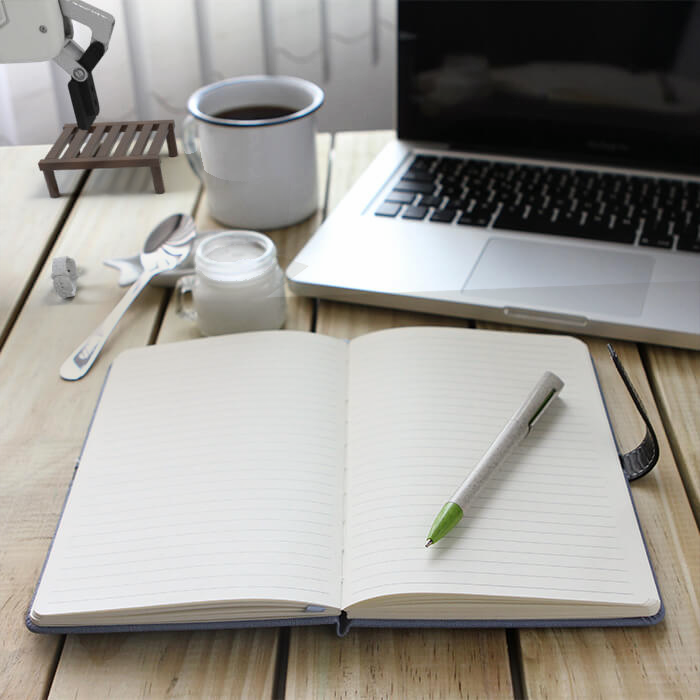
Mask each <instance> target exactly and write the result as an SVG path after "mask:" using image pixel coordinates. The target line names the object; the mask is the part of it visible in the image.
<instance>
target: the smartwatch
mask: <svg viewBox="0 0 700 700" xmlns="http://www.w3.org/2000/svg"><path fill="white" fill-rule="evenodd" d="M79 276H80V274H79V271H78V266H77V264H76V260H75V258H73V257H70V256H68V255H67V256H66V255H65V256H55V257H53V259H52V264H51V274H50V278H51V280H52V286H53V290H54V291H55V293H56V294H57V295H58V296H59V297H60V298H62V299H64V298H72V297H75V296H76V294H77V281H78V279H79Z"/></svg>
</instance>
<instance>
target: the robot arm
mask: <svg viewBox="0 0 700 700" xmlns="http://www.w3.org/2000/svg"><path fill="white" fill-rule="evenodd" d="M73 21H75V22H77V23H78V24H79V23H80V24H81V25H84V26H86V27H88V28H89V29H90V31H91V36H90V37H91V38H90V42H89V45H88V46H87V48H86V49H84V48H83V47H82V46H81V45H80V44H79V43H78V42H76V40H74V34H75V32H74V31H75V30H74V24H73ZM115 24H116V18H115V16H114V15H113V14H111V13H109V12H107V11H105V10H103V9H101V8H98V7H96V6H95V5H92V4H91V3H88V2H86V1H83V0H0V65H7V64H9V65H10V64H31V63H43V62H48V61H51V60H52V61H54V62H55V63H56V64H57V65H58V66H59V67H60V68H61V69H63V70H64V71H65V72H66V73H67V74H68V75H69V76H70V80H69V81H68V83H67V90H68V93H69V97H70V102H71V105H72V110H73V113H74V117H75V122H76V123H77V125H78V128H79V129H81V130H82V131H83V130H89V128H90V127H91V125H92V124H93V123H95V121H96V119H97V117H98V116H99V115H100V112H101V110H100V103H99V102H100V101H99V98H98V93H97V89H96V85H95V81H94V76H93V70H94V69H95V68H96V66H97V65H98V64H99V63H100V61H101V59H102V58H103V57H104V55H106V53H107V52H108V51H109V45H110V42H111V39H112V35H113V32H114V28H115Z"/></svg>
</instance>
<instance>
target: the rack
mask: <svg viewBox="0 0 700 700" xmlns="http://www.w3.org/2000/svg"><path fill="white" fill-rule="evenodd" d="M175 128H176V123H175V119H154V120H130V121H129V120H128V121H108V122H107V121H103V122H93V124H92V125H91V127H90V128H89V130H83V131H82V130H81V129H79V128H78V125H77V122H76V123H64V125H63V126H62V132H61V133H60V135H59V136H58V138H57V139H56V141H55V142H54V143H53V145H52V147H51V148H50V149H49V151H48V153H47V154H46V155H45V157H44V158H41V159H39V161H38V162H37V165H38V169H39V171H40V172H42V174H43V177H44V180H45V184H46V188H47V191H48V194H49V197H50V198H51V199H56V198H59V197H60V196H61V192H60V188H59V185H58V181H57V178H56V177H57V176H56V174H55V171H76V170H77V171H79V170H99V169H101V170H102V169H128V168H149V170H150V175H151V180H152V185H153V188H154V189H153V190H154V193H155V194H158V195H160V194H164V193H165V192H166V187H165V183H164V182H165V181H164V178H163V173H162V167H161V164H162V158H161V155H160V154H161V152H162V148H163V146H164V143H165V141H166V146H167V147H166V148H167V152H168V156H169V157H174V158H175V157H178V155H179V151H178V150H179V149H178V145H177V140H176V139H177V138H176V133H175ZM138 132H139V135H138V136H137V139H136V141H135V143H134V145H133V147H132V149H131V151H130V154H129V155H127V154H128V152H129V149H130V147H131V145H132V143H133V141H134V140H135V137H136V135H137V133H138ZM153 132H155V135H154V137H153V139H152V141H151V144H150V146H149V148H148V151H147V152H146V154H144V152H145V150H146V148H147V147H148V146H147V145H148V144H149V141H150V139H151V137H152V134H153ZM122 133H123V134H122ZM90 134H91V136H90ZM106 134H107V135H106ZM121 134H122V137H121V138H120V136H121ZM105 135H106V137H105V138H104V136H105ZM89 136H90V137H89ZM88 137H89V139H88ZM103 138H104V140H103ZM119 138H120V141H119V143H118V144H117V146H116V148H115V150H114V152H113V153H112V151H113V149H114V147H115V145H116V143H117V142H118V139H119ZM87 139H88V140H87ZM86 140H87V141H86ZM102 140H103V142H102ZM85 142H86V144H85ZM101 142H102V144H101ZM84 144H85V145H84ZM100 144H101V146H100V147H99V145H100ZM67 146H68V147H67ZM83 146H84V147H83ZM66 147H67V148H66ZM82 147H83V149H82ZM98 147H99V150H98V151H97V153H96V155H95V156H94V154H95V152H96V150H97V149H98ZM65 148H66V149H65ZM81 149H82V150H81ZM63 152H64V153H63ZM62 153H63V154H62ZM111 153H112V156H111ZM61 155H62V156H61ZM60 156H61V157H60Z"/></svg>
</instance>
